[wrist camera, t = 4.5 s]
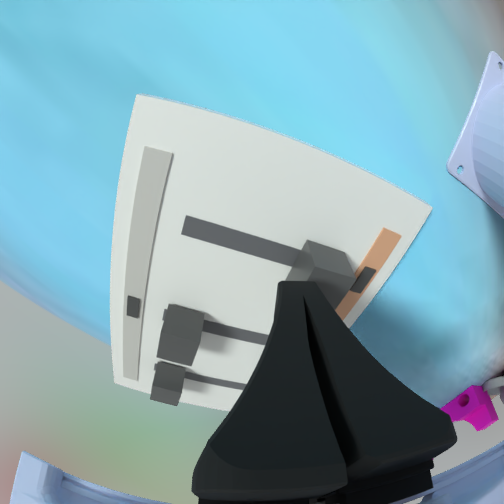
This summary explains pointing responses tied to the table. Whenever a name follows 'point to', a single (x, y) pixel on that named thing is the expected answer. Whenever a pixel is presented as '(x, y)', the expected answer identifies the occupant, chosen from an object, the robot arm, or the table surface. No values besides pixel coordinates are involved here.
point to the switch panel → (234, 238)
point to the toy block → (472, 408)
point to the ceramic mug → (495, 387)
